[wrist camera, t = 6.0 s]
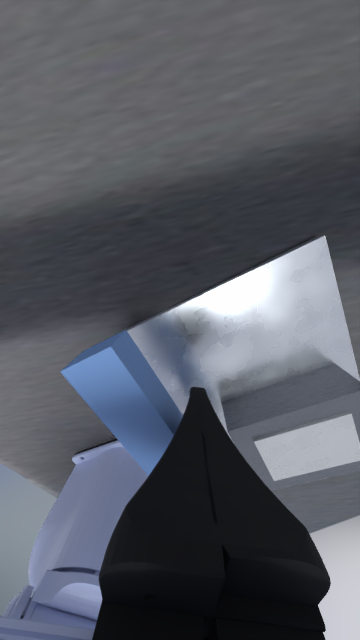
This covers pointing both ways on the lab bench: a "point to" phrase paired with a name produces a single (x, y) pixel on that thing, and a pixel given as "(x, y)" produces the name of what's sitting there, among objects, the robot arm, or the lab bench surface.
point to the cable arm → (126, 397)
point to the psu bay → (268, 364)
